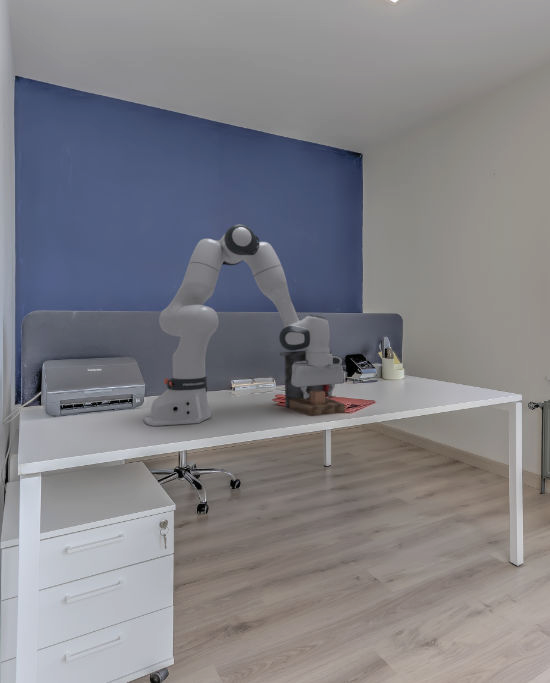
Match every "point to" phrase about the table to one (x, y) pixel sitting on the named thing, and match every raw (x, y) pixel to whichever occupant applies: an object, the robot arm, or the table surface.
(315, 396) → the peg
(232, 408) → the table surface
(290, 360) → the socket block
